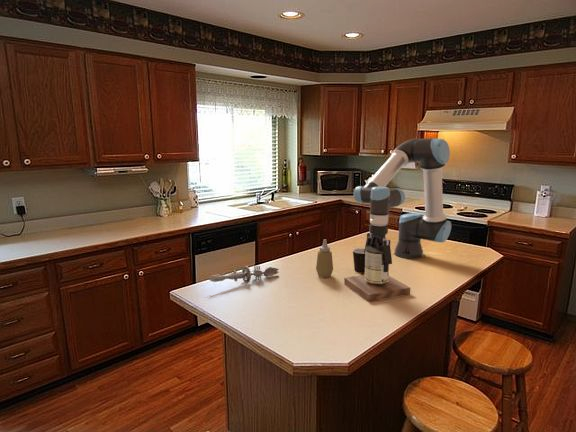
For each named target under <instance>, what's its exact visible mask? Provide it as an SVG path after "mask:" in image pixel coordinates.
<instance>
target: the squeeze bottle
mask: <svg viewBox="0 0 576 432" xmlns="http://www.w3.org/2000/svg"><path fill="white" fill-rule="evenodd" d="M327 242H328V240H327V239H323V242H322V245H321V246H319V251H318V252H317V257H316V265H315V270H316V274H317V276H318V278H321V279H328V278H331V276H332V274H333V272H334V263H333V252H332V251H331V247H330V246H329V245H328V243H327Z"/></svg>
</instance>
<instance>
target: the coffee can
mask: <svg viewBox="0 0 576 432" xmlns="http://www.w3.org/2000/svg"><path fill="white" fill-rule="evenodd" d="M364 249H365V273H364V275H365V280H366V281H367V282H370V283H375V284H383V283H386V282H388V281H389V276H390V264H389V265H388V274H387V279H381V264H382V263H383V262H382V254H384V251H379V249H378V247H377V246H374V247H371V246H370V245H369V246H366V247H365V246H364Z"/></svg>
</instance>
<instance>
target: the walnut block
mask: <svg viewBox="0 0 576 432" xmlns="http://www.w3.org/2000/svg"><path fill="white" fill-rule="evenodd" d="M343 282H344V283H343V284H344V285H345V286H346V287H347V288H349V289H350V290H352V291H353V292H354V293H356V294H358V295H359V296H360V297H362V299H363V300H365V301H367V302H368V303H370V302H375V301H380V300H387V299H394V298H398V297H403V296H408V295H411V287H410V286H408V285H407V284H405V283H403V282H401V281H399V280H397V279H395V278H394V277H393V276H391V275H389V281H388V282H386V283H383V284H375V283H370V282H367V281H366V280H365V274H360V275H354V276H347V277H344V281H343Z"/></svg>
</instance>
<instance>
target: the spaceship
mask: <svg viewBox="0 0 576 432" xmlns="http://www.w3.org/2000/svg"><path fill="white" fill-rule="evenodd" d="M253 268H254V269H253V270H252V271H251V269H250V268H249V266H248V265H244V266H243V267H242V269H241V271H240V272H239V271H237V270H233V272H231V273H229V274H223V273H219V274H214V275H210V276H209V279H208V280H209V281H210V282H214V283H216V282H223V281H225V280H234V282H238V279H239V280H240V279H242V281H243V282H244V284H249V283H250V282H251V278H255V281H256V282H257V281H262V277H263V276H264V277H266V278H268V277H273V276H276V275H277V274H279V273H280V272H279V269H280V268H277V267H272V266H271V267H270V266H269V267H265V268H263V269H261V266H260V265H256V266H255V265H254V266H253Z"/></svg>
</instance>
